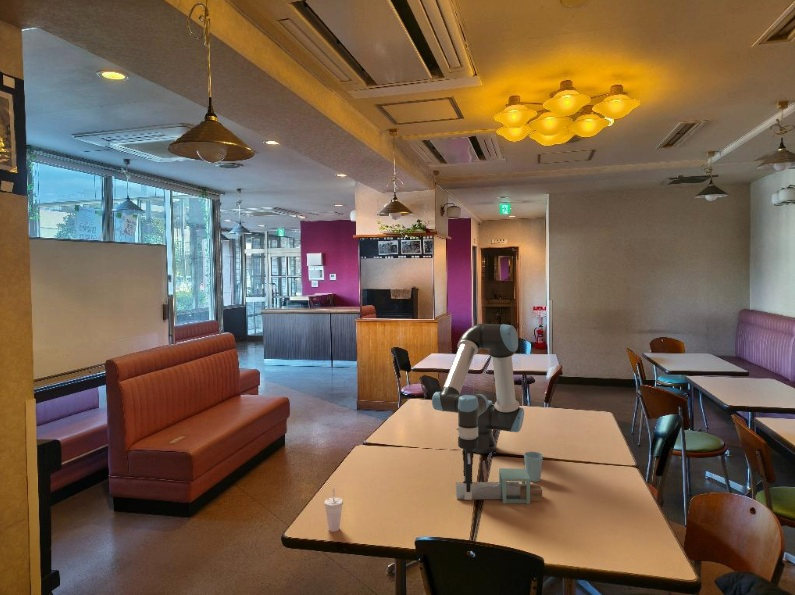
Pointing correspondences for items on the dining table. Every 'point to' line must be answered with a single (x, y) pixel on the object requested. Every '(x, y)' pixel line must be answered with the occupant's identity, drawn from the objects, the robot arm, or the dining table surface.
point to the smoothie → (333, 512)
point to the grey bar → (489, 490)
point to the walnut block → (531, 492)
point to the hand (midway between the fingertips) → (467, 496)
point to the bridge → (514, 475)
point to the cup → (533, 465)
